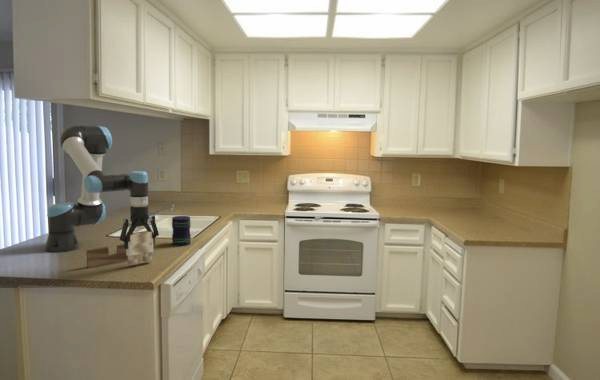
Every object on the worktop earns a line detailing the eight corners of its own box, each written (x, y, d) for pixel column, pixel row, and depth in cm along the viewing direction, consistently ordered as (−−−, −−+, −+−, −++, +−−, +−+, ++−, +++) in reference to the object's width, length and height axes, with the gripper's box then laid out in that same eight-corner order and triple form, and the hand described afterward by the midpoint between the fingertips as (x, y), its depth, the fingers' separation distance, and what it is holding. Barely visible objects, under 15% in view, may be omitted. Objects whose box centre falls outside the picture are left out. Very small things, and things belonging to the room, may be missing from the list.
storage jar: (193, 242, 231) (193, 216, 229) (186, 246, 221) (186, 219, 219) (176, 241, 232) (176, 215, 230) (169, 245, 222) (168, 218, 220)
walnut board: (87, 267, 182) (86, 249, 181) (135, 258, 198) (135, 241, 197) (88, 268, 180) (88, 250, 180) (137, 258, 196) (136, 242, 195)
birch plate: (130, 265, 183) (130, 234, 181) (128, 263, 185) (127, 233, 183) (152, 261, 190) (151, 231, 188) (149, 259, 192) (148, 230, 190)
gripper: (117, 209, 173) (118, 259, 176) (166, 204, 190) (166, 250, 192) (110, 206, 178) (111, 256, 181) (158, 202, 195) (159, 247, 197)
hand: (140, 253), depth 187 cm, fingers closed on birch plate, 10 cm apart
